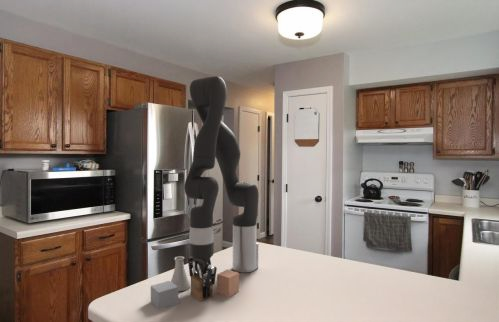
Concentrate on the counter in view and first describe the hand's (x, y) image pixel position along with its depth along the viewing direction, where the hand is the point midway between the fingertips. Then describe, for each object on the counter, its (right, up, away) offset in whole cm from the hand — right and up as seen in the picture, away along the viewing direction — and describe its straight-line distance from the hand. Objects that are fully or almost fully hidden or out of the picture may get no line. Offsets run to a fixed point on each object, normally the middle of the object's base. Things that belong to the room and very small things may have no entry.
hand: (201, 294), depth 97 cm
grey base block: (-10, -1, -5) cm, 11 cm away
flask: (-8, -1, +6) cm, 10 cm away
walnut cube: (0, 0, 0) cm, 0 cm away
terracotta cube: (+8, 0, +3) cm, 9 cm away
